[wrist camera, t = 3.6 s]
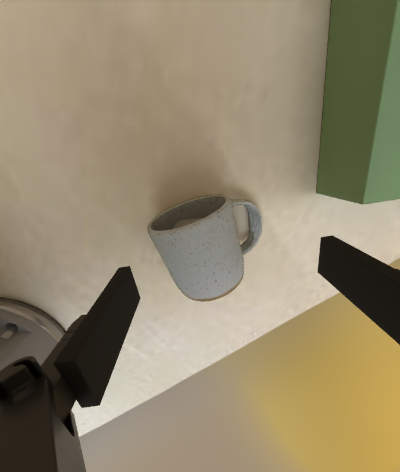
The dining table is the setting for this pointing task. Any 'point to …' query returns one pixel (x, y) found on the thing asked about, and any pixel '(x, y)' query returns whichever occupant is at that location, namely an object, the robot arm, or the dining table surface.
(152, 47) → the dining table surface
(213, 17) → the dining table surface
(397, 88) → the green block
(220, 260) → the ceramic mug
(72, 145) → the dining table surface
